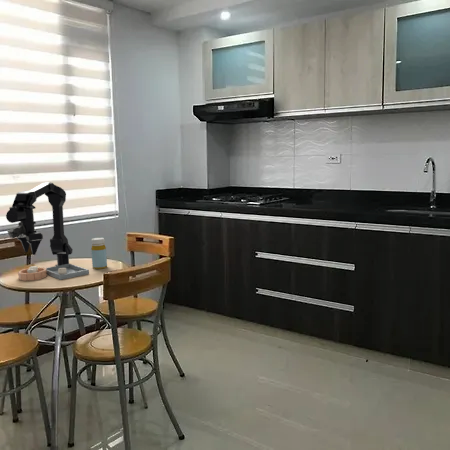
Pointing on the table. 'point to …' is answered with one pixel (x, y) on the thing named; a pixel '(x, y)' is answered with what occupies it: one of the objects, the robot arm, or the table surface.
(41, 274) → the bowl
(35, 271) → the pebble
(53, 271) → the tray
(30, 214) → the robot arm
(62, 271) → the pebble
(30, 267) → the pebble
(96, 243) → the bottle
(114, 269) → the table surface
